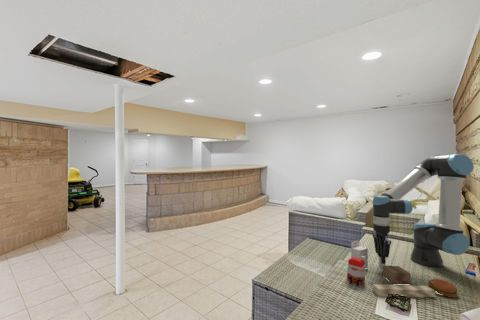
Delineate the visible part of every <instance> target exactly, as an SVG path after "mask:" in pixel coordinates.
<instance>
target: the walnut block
mask: <svg viewBox="0 0 480 320" xmlns="http://www.w3.org/2000/svg"><path fill="white" fill-rule="evenodd" d="M383 276H384V277H385V278H387V279H388V280H389V281H390V282H391V283H392V284H410V285H411V272H410V271H407V270H406V269H404V268H403V267H401V266H400V265H385V266H383V269H382V277H383ZM390 282H389V283H390ZM391 283H390V284H391ZM392 284H391V285H392Z"/></svg>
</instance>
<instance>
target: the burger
mask: <svg viewBox="0 0 480 320" xmlns="http://www.w3.org/2000/svg"><path fill="white" fill-rule="evenodd" d="M427 286H429V287H430V288H432V289H433V290H435V291H437V292H438V293H440V294H443V295H445V296H444V297H446V296H448V297H447V298H451V297H453V299H456V298H458V289H457V287H456V286H455V285H454V284H452V283H451V282H449V281H447V280H443V279H439V278H433V279H429V280H428V284H427Z"/></svg>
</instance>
